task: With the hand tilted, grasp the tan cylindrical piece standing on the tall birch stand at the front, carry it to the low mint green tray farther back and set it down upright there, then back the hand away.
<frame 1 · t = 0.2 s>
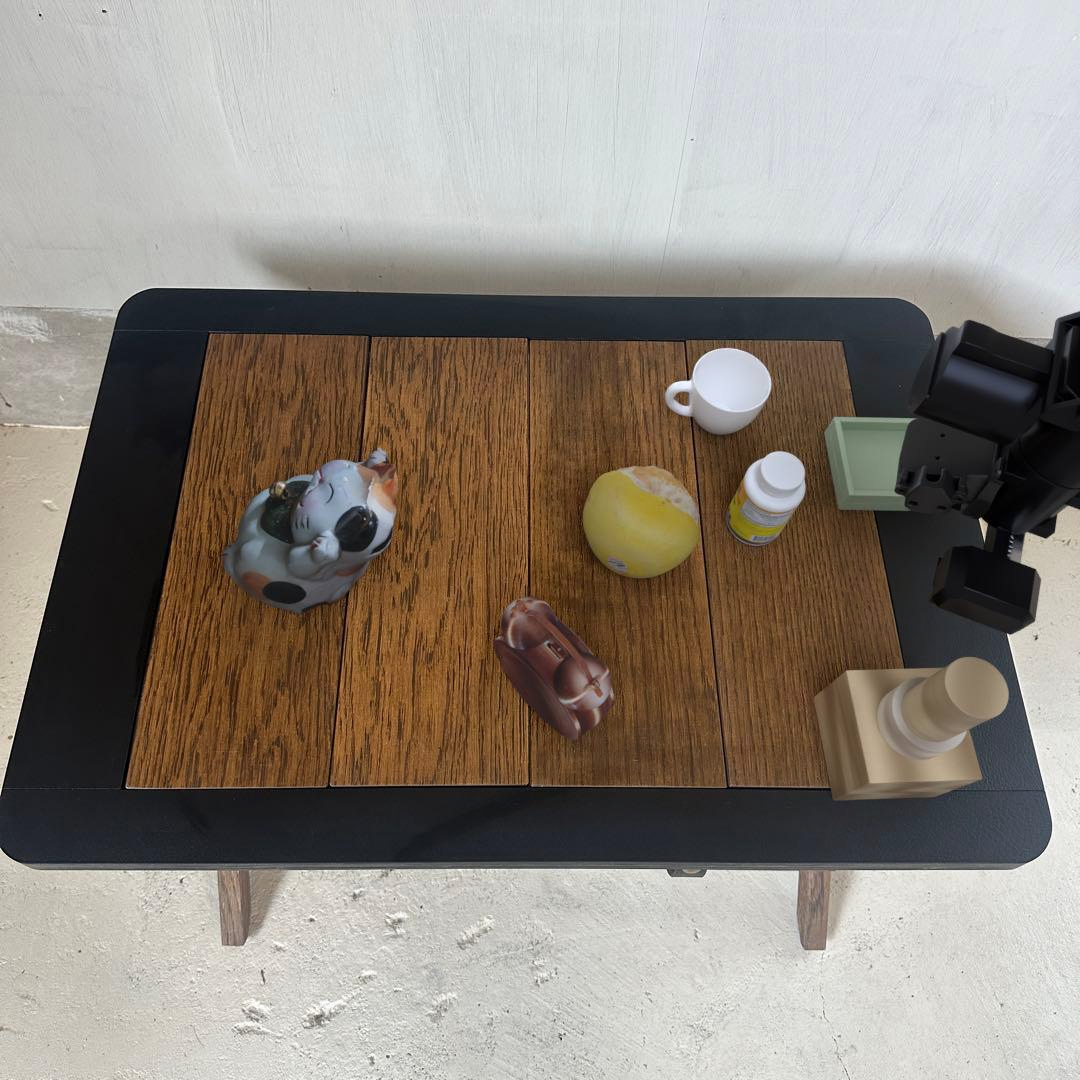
hand: (945, 553, 69), 13 cm above the table, tool pointing down, fingers open, 9 cm apart
mint green tray: (874, 471, 87), on the table
tan cylindrical piece: (912, 723, 67), point 8 cm above the table, touching stand
lucky cat figurine: (325, 546, 81), on the table
stand: (872, 746, 74), on the table
alarm clock: (547, 694, 75), on the table
supplement bottle: (751, 524, 84), on the table
cup: (705, 419, 89), on the table
fruit: (633, 545, 82), on the table
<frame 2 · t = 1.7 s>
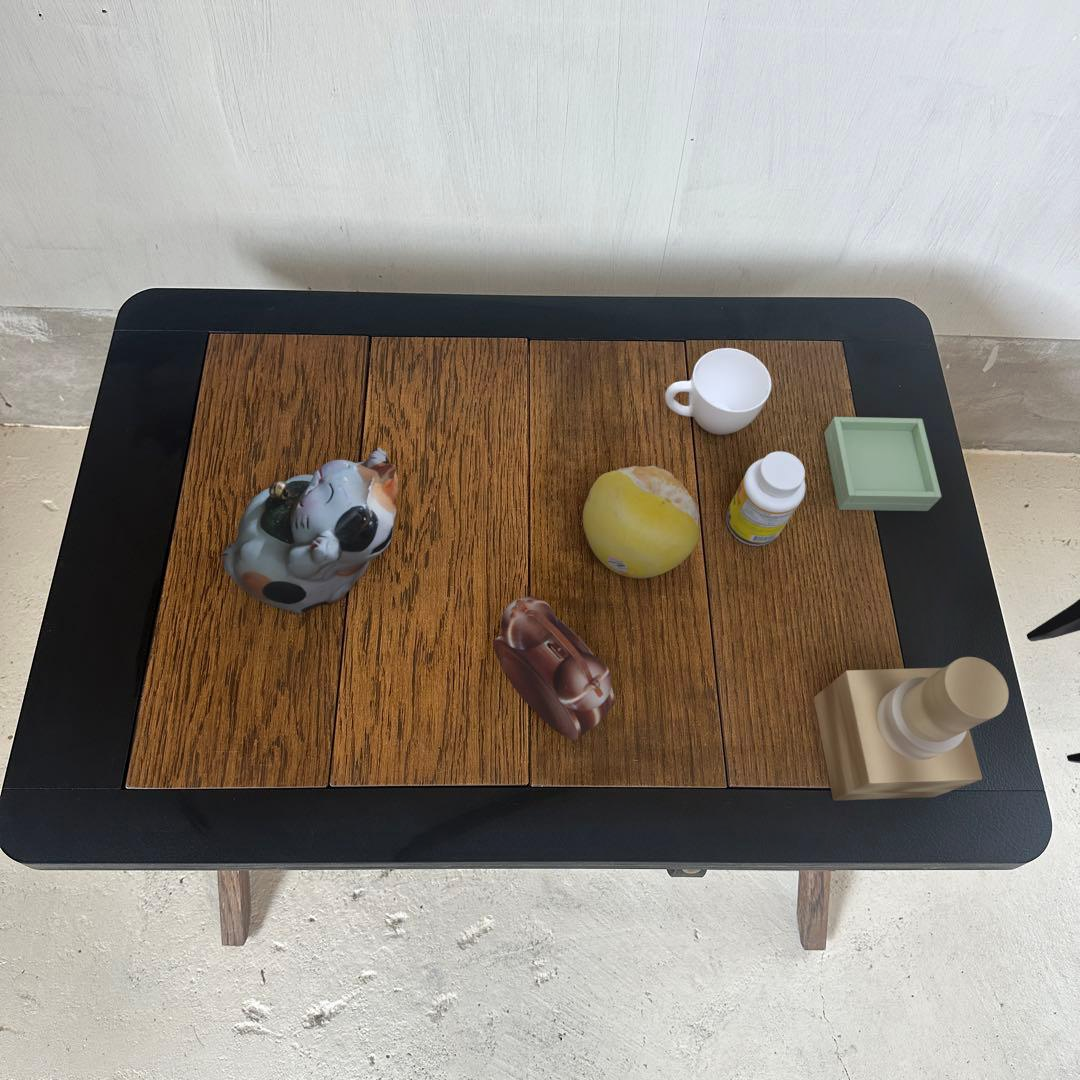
hand: (1047, 696, 63), 13 cm above the table, tool tilted 45°, fingers open, 9 cm apart
nothing on the table moved.
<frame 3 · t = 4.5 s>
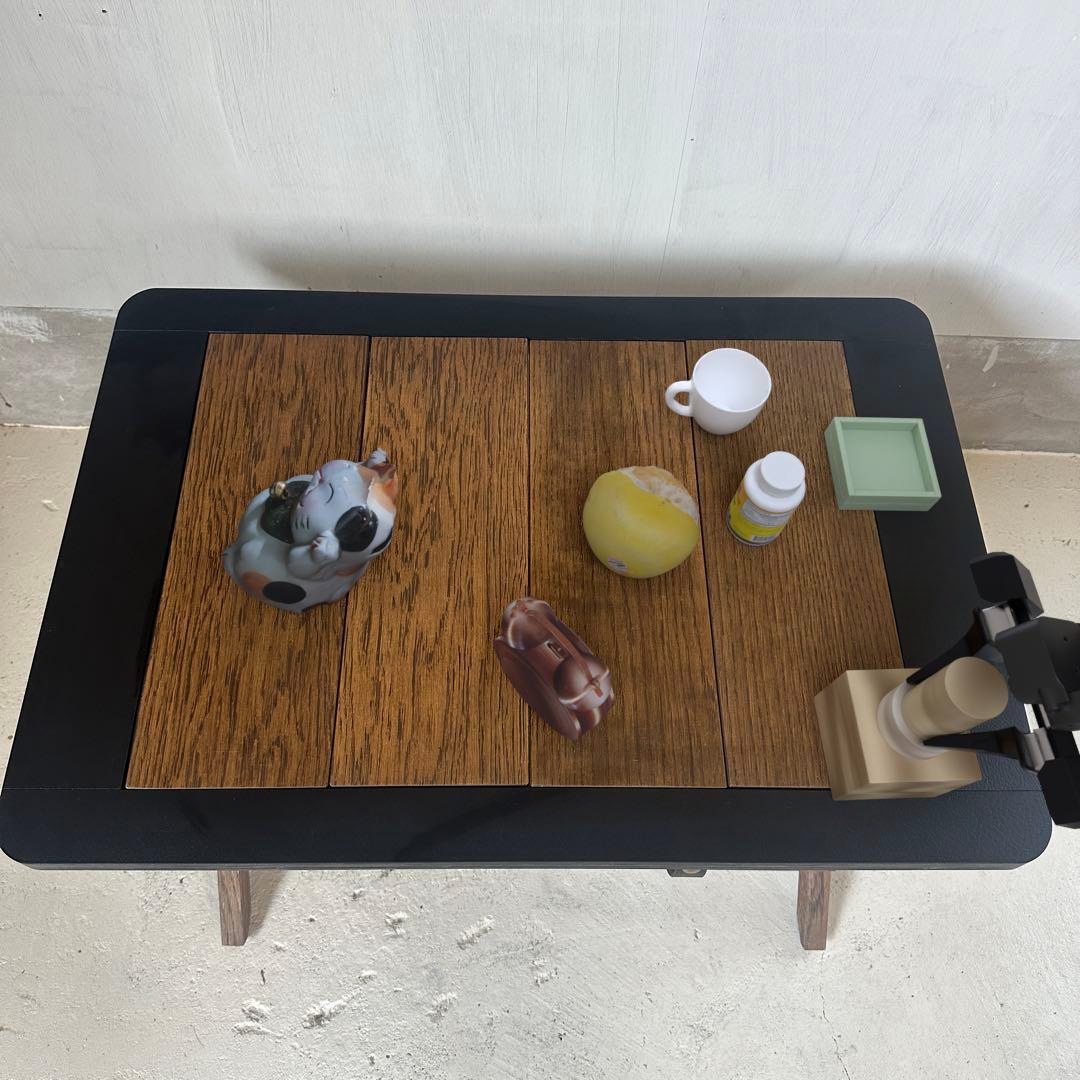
hand: (916, 712, 64), 12 cm above the table, tool tilted 45°, fingers closed on tan cylindrical piece, 4 cm apart
tan cylindrical piece: (912, 723, 67), point 8 cm above the table, touching gripper, stand
everything else where it was.
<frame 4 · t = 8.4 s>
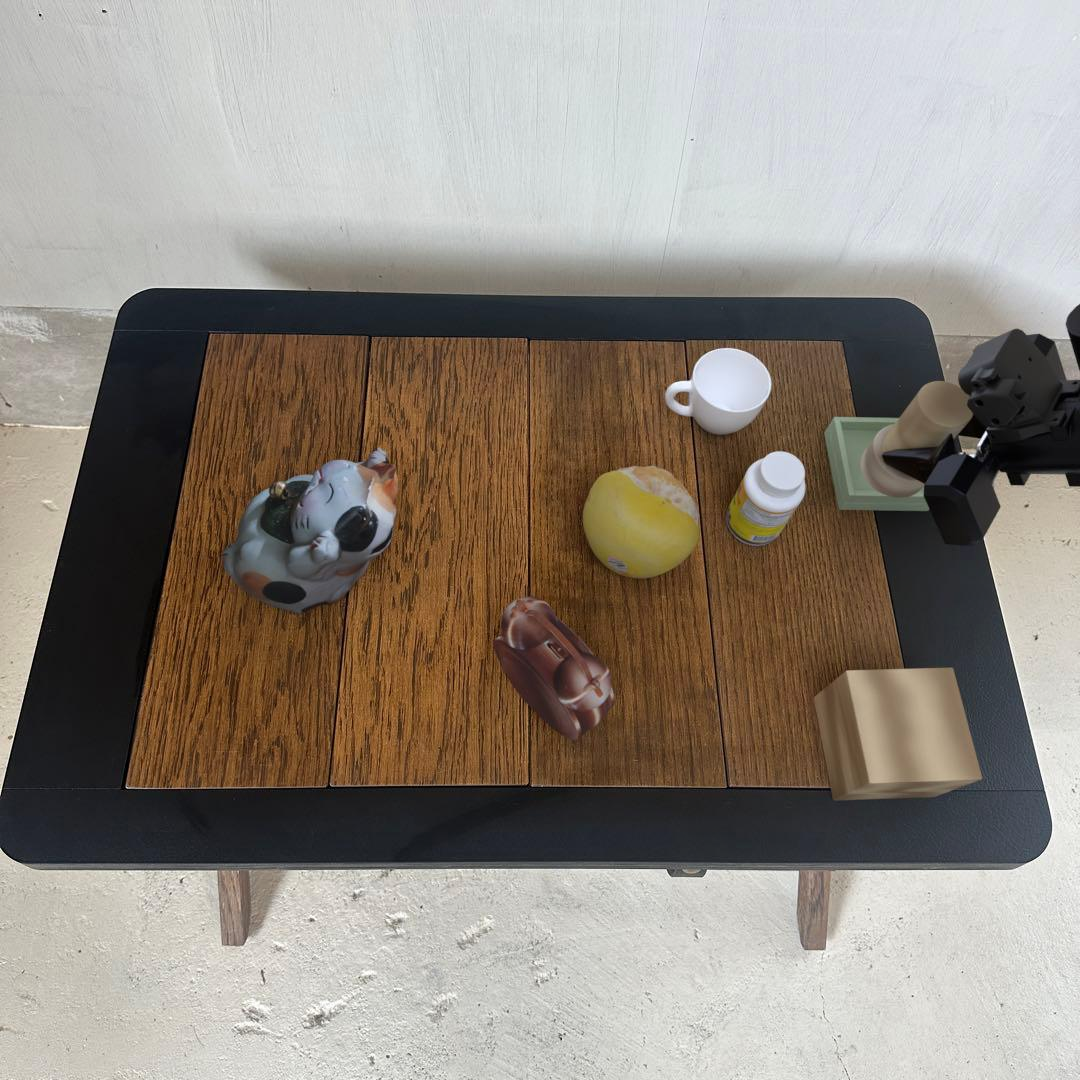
hand: (896, 439, 72), 14 cm above the table, tool tilted 45°, fingers closed on tan cylindrical piece, 4 cm apart
tan cylindrical piece: (892, 469, 75), point 10 cm above the table, touching gripper
everything else where it was.
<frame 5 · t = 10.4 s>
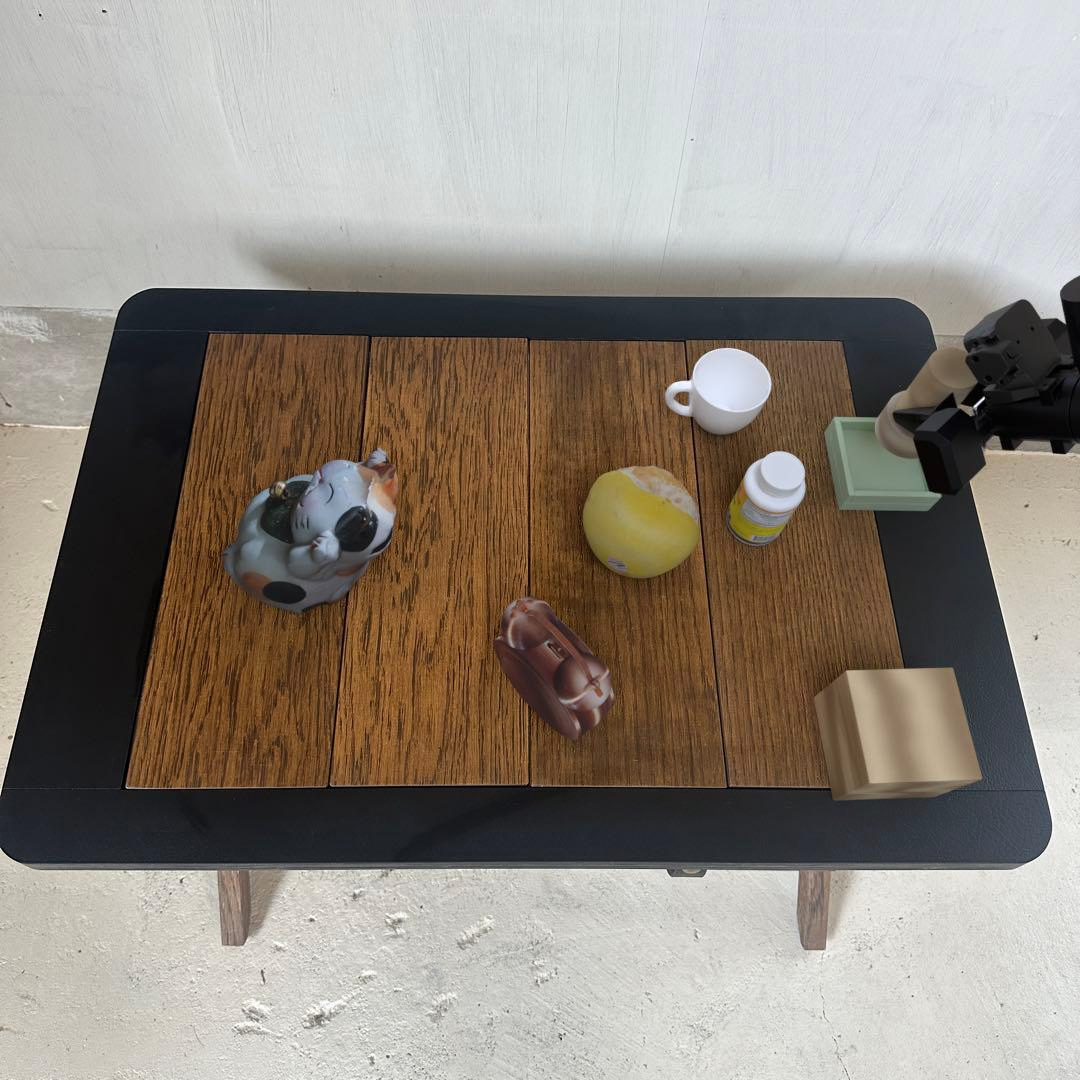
hand: (909, 402, 78), 11 cm above the table, tool tilted 45°, fingers closed on tan cylindrical piece, 4 cm apart
tan cylindrical piece: (904, 433, 81), point 7 cm above the table, touching gripper
everything else where it was.
when the fingers open (5 cm above the table, at t = 12.3 s): tan cylindrical piece stays where it is, resting on mint green tray.
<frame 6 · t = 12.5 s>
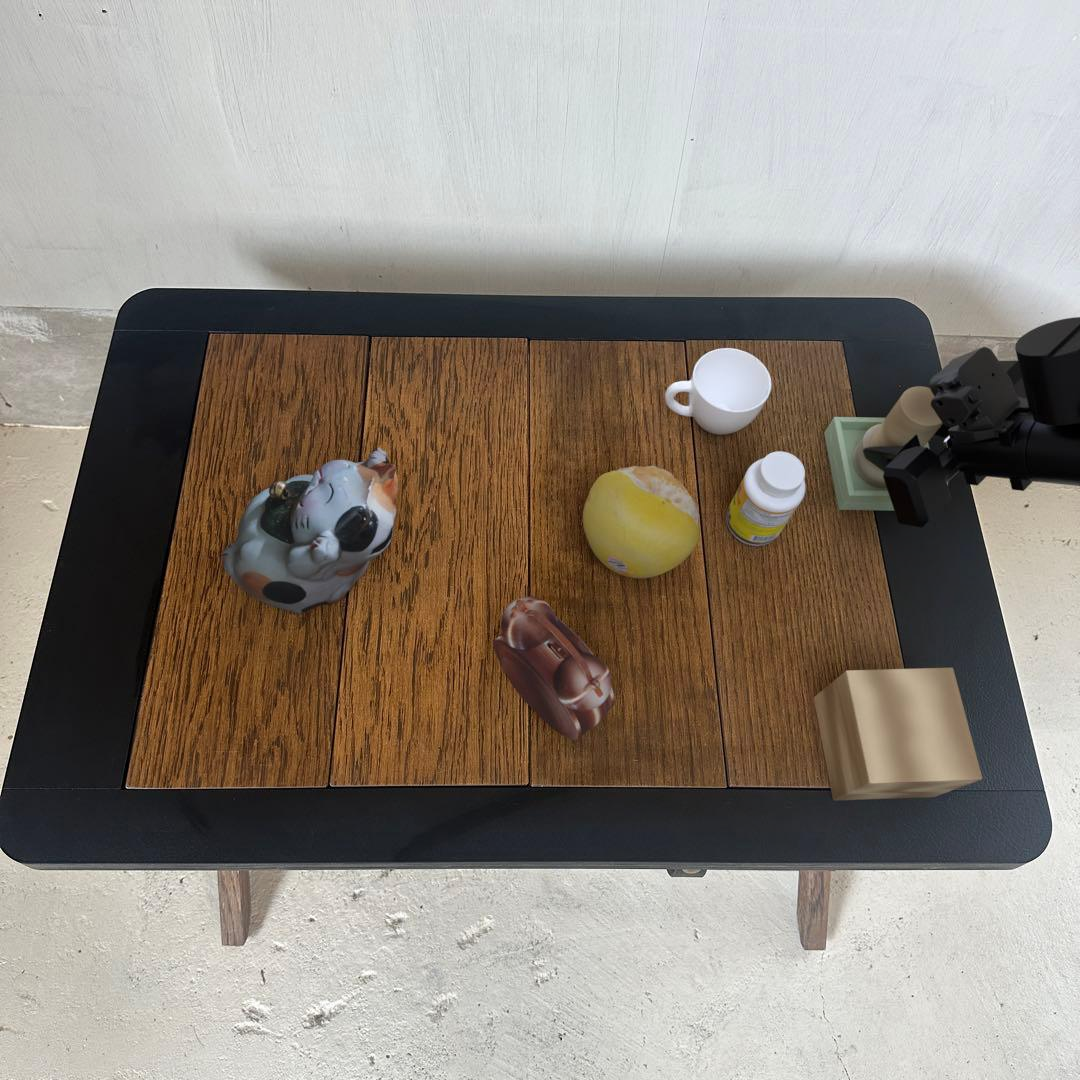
hand: (883, 436, 83), 5 cm above the table, tool tilted 45°, fingers open, 6 cm apart
tan cylindrical piece: (880, 463, 86), point 2 cm above the table, touching mint green tray
everything else where it was.
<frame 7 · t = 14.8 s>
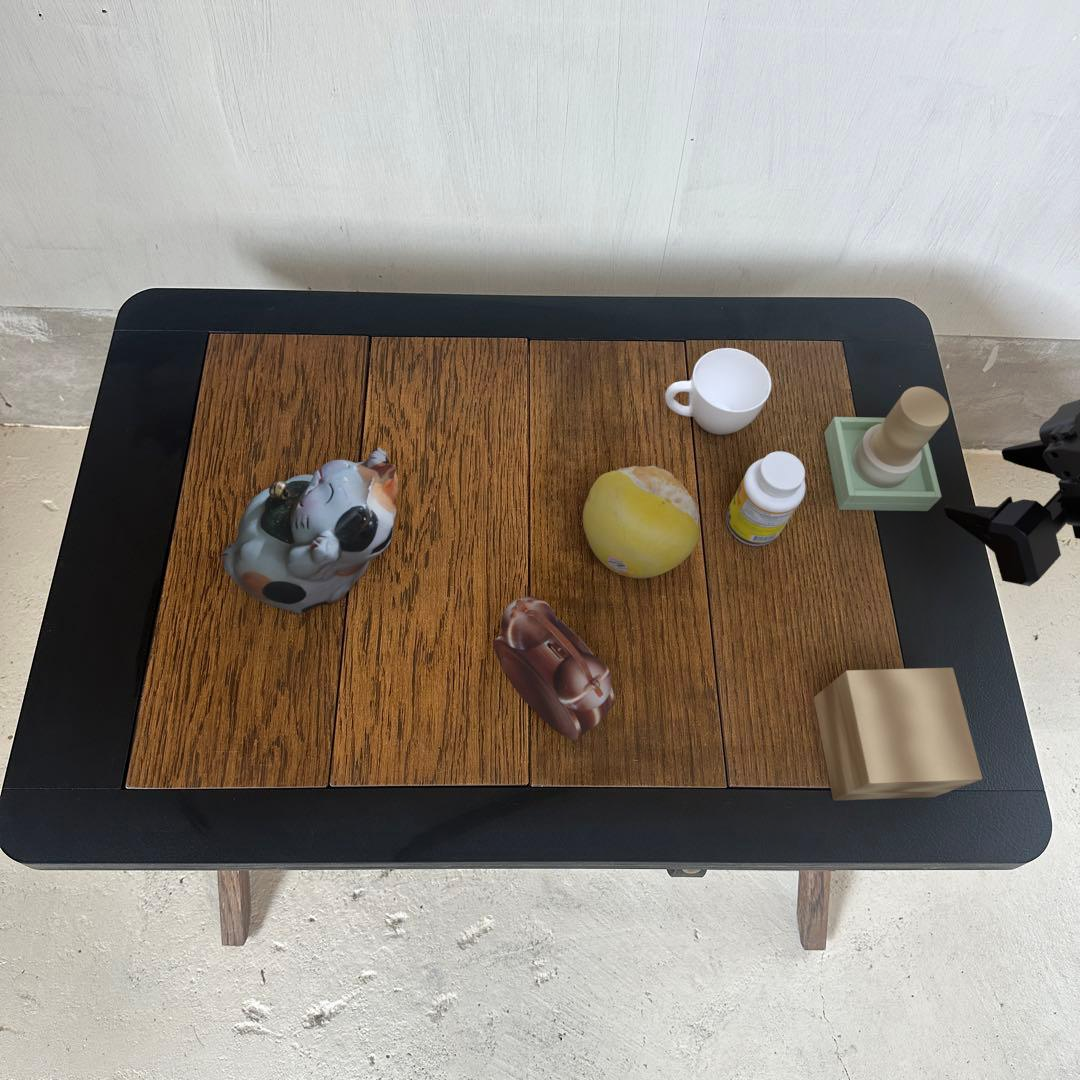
hand: (975, 481, 78), 8 cm above the table, tool tilted 45°, fingers open, 9 cm apart
nothing on the table moved.
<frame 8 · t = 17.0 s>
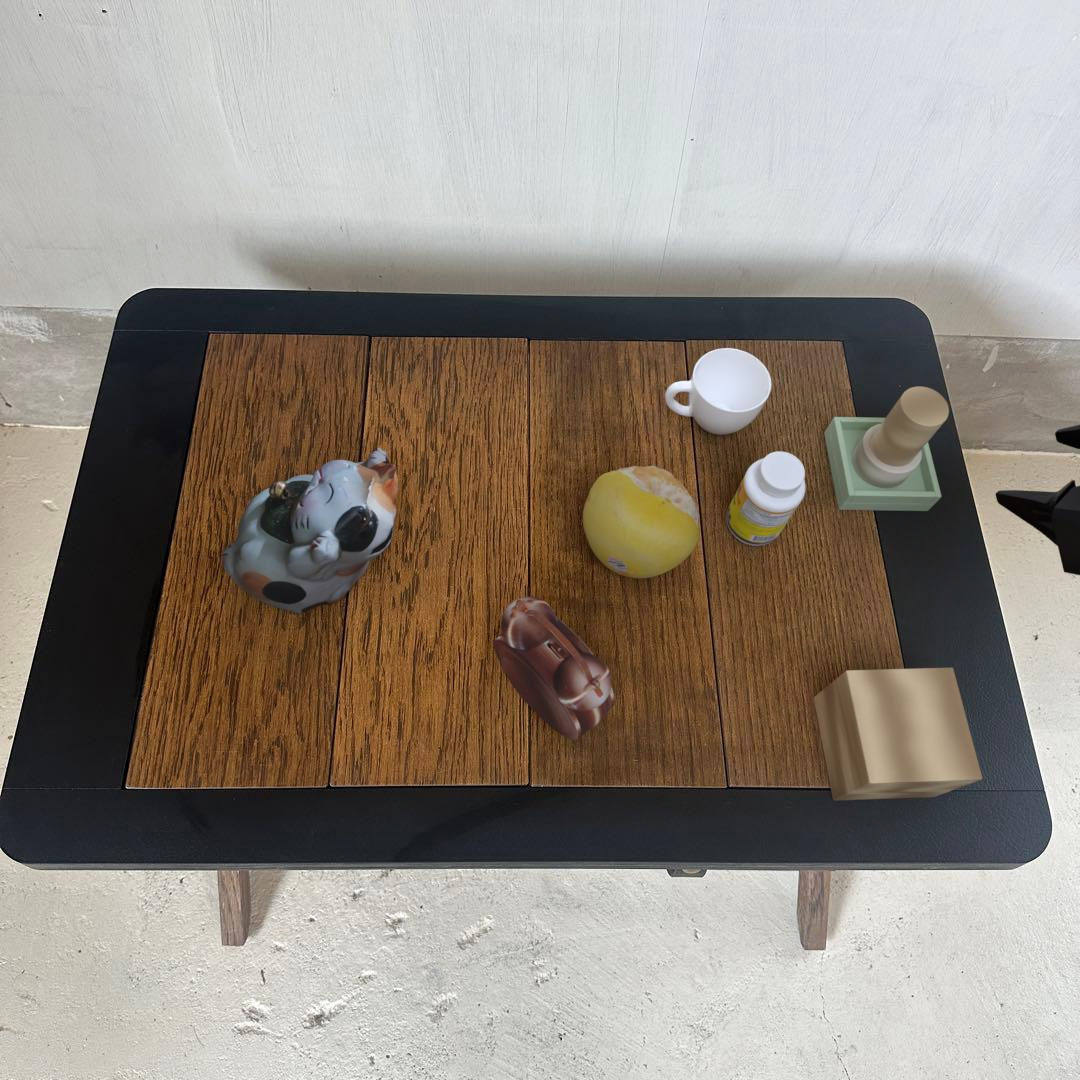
hand: (1027, 465, 72), 14 cm above the table, tool tilted 45°, fingers open, 9 cm apart
nothing on the table moved.
at the end: tan cylindrical piece 0.0 cm off-centre in the mint green tray, point 1.5 cm above the mint green tray's base; tan cylindrical piece tilted 0°; the gripper is holding nothing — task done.
